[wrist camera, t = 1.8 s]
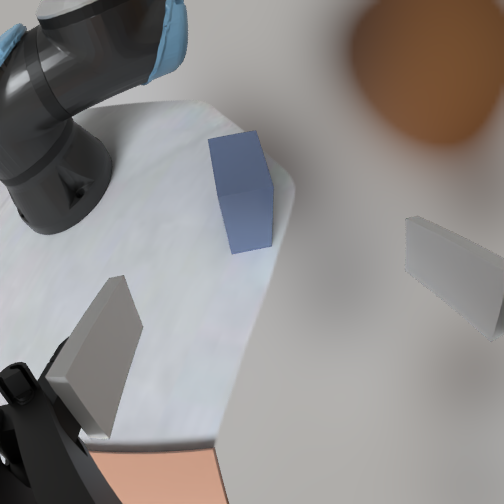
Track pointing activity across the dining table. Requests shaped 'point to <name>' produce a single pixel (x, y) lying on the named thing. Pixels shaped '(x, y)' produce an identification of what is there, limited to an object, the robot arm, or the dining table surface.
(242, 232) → the block
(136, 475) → the plate
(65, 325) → the dining table surface
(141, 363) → the dining table surface
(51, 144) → the robot arm
